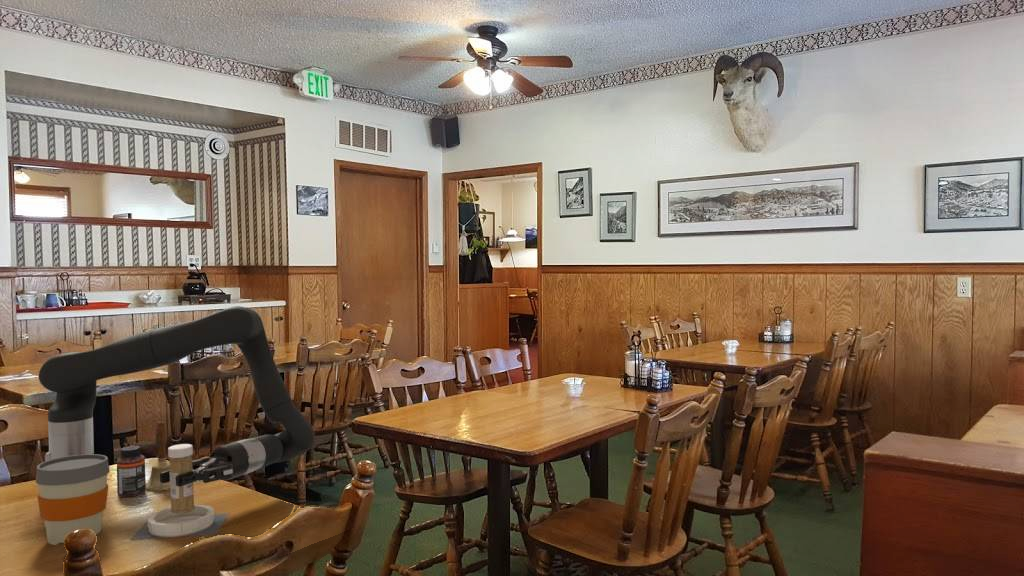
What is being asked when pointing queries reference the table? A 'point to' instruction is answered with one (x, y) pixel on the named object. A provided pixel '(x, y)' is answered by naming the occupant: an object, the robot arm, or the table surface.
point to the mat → (213, 529)
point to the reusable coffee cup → (72, 494)
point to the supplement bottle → (131, 473)
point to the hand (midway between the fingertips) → (169, 479)
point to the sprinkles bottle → (178, 465)
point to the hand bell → (159, 461)
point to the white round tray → (180, 522)
